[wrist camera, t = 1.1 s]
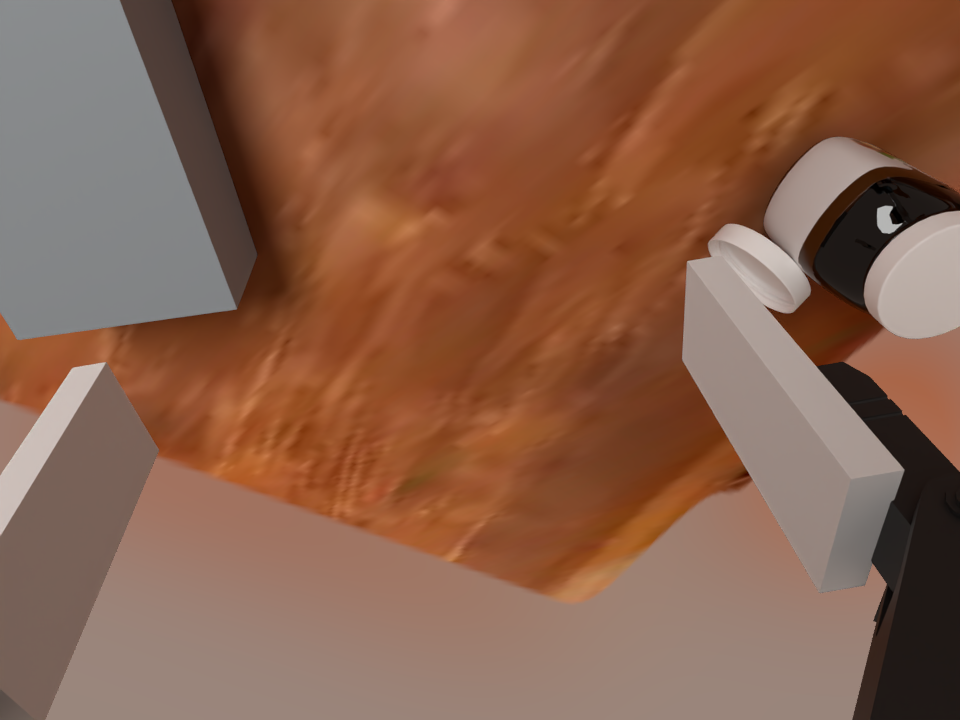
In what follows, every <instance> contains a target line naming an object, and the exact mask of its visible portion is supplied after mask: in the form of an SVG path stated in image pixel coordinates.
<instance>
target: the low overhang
mask: <svg viewBox="0 0 960 720" xmlns="http://www.w3.org/2000/svg"><path fill="white" fill-rule="evenodd" d="M256 258H257V252H256V249H255V246H254V243H253V240H252V237H251V234H250V231H249V228H248V225H247V222H246V219H245V217H244V214H243V211H242V208H241V205H240V202H239V199H238V196H237V193H236V190H235V187H234V184H233V181H232V178H231V175H230V172H229V169H228V166H227V163H226V160H225V157H224V155H223V152H222V149H221V146H220V143H219V140H218V137H217V134H216V131H215V128H214V125H213V122H212V119H211V116H210V113H209V110H208V107H207V104H206V101H205V98H204V95H203V93H202V90H201V87H200V84H199V81H198V78H197V75H196V72H195V69H194V66H193V63H192V60H191V57H190V54H189V51H188V48H187V45H186V42H185V39H184V36H183V33H182V30H181V28H180V25H179V22H178V19H177V16H176V13H175V10H174V7H173V4H172V1H171V0H0V313H1V314H2V316H3V317H4V319H5V321H6V322H7V324H8V325H9V327H10V328H11V330H12V332H13V333H14V335H15V336H16V338H17V340H22V339H29V338H36V337H43V336H50V335H57V334H64V333H72V332H79V331H86V330H93V329H100V328H107V327H114V326H122V325H129V324H136V323H143V322H150V321H157V320H164V319H171V318H179V317H186V316H193V315H200V314H207V313H214V312H221V311H229V310H236V309H237V308H238V305H239V303H240V300H241V298H242V295H243V292H244V290H245V287H246V284H247V282H248V279H249V276H250V274H251V271H252V269H253V266H254V263H255V261H256Z"/></svg>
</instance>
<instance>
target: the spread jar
mask: <svg viewBox="0 0 960 720" xmlns="http://www.w3.org/2000/svg"><path fill="white" fill-rule="evenodd" d="M764 229H765V231H766V233H767V235H768V236H769V237H770V239H771V240H772V241H773V242H774V243H775V244H774V243H773V242H772V241H770V240H769V239H767V238H766V237H764V236H763V235H761V234H759V233H757V232H756V231H754V230H752V229H749V228H747V227H745V226H741V225H738V224H726V225H725V226H723V227H722V228H721V229H720V230H719V231H718V232H717V233H716V234H715V235H714V237H713V238H712V239H711V240H710V241H709V243H708V250H709V253H710V255H711V257H715V256H722V257H723V258H724V259H725V260H726V262H727V263H728V264H729V265H730V266H731V267H732V269H733V270H734V271H735V272H736V273H737V274H738V276H739V277H740V278H741V279H742V280H743V281H744V283H745V284H746V285H747V286H748V287H749V289H750V290H751V291H752V292H753V293H754V294H755V296H756V297H757V298H758V299H759V300H760V301H761V303H762V304H763V305H765V306H767V307H769V308H771V309H773V310H775V311H778V312H782V313H793V312H794V311H795V310H796V309H797V308H798V307H799V306H800V305H801V304H802V303H803V302H804V301H805V300H806V299H807V298H808V297H809V296H810V293H811V288H810V284H809V282H808V279H807V277H806V276H805V274H804V273H803V272H805V273H806V274H807V275H808V276H809V277H811V278H812V279H813V280H814V281H815V282H817V283H818V284H819V285H820V286H822V287H823V288H825V289H826V290H827V291H829V292H830V293H831V294H833V295H834V296H836V297H837V298H839V299H840V300H842V301H843V302H845V303H847V304H849V305H850V306H852V307H854V308H856V309H858V310H860V311H862V312H864V313H867V314H869V315H872V316H873V317H874V318H875V319H876V320H877V321H878V322H879V323H880V324H881V325H883V326H884V327H885V328H886V329H887V330H888V331H890V332H891V333H893V334H894V335H897V336H899V337H903V338H908V339H921V338H930V337H934V336H937V335H941V334H944V333H947V332H949V331H951V330H954V329H956V328H958V327H959V326H960V194H959V193H958V192H956V191H955V190H954V189H952V188H951V187H949V186H948V185H946V184H945V183H943V182H941V181H939V180H937V179H935V178H933V177H931V176H929V175H927V174H925V173H923V172H922V171H920V170H918V169H916V168H914V167H913V166H911V165H909V164H907V163H906V162H904V161H902V160H900V159H899V158H897V157H895V156H893V155H892V154H890V153H888V152H886V151H884V150H882V149H880V148H878V147H876V146H873V145H871V144H869V143H866V142H863V141H860V140H856V139H852V138H847V137H831V138H827V139H824V140H822V141H820V142H818V143H816V144H815V145H813V146H812V147H811V148H810V149H808V150H807V151H806V152H805V153H804V154H803V155H802V156H801V157H800V158H799V159H798V160H797V161H796V162H795V163H794V164H793V165H792V166H791V167H790V169H789V170H788V171H787V172H786V174H785V175H784V176H783V178H782V179H781V181H780V182H779V184H778V185H777V187H776V189H775V191H774V192H773V194H772V196H771V198H770V201H769V203H768V205H767V208H766V211H765V216H764Z"/></svg>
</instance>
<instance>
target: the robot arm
mask: <svg viewBox="0 0 960 720" xmlns="http://www.w3.org/2000/svg"><path fill="white" fill-rule="evenodd" d="M682 360H683V362H684V364H685V366H686V367H687V369H688V371H689V372H690V374H691V376H692V377H693V379H694V381H695V383H696V384H697V386H698V388H699V389H700V391H701V393H702V395H703V396H704V398H705V400H706V401H707V403H708V405H709V406H710V408H711V410H712V412H713V413H714V415H715V417H716V418H717V420H718V422H719V423H720V425H721V427H722V429H723V430H724V432H725V434H726V435H727V437H728V439H729V440H730V442H731V444H732V446H733V447H734V449H735V451H736V452H737V454H738V456H739V457H740V459H741V461H742V463H743V464H744V466H745V468H746V469H747V471H748V473H749V474H750V476H751V478H752V480H753V481H754V483H755V485H756V486H757V488H758V490H759V491H760V493H761V495H762V497H763V498H764V500H765V502H766V503H767V505H768V507H769V508H770V510H771V512H772V514H773V515H774V517H775V519H776V520H777V522H778V524H779V526H780V527H781V528H782V531H783V532H784V534H785V536H786V537H787V539H788V541H789V542H790V544H791V546H792V548H793V549H794V551H795V553H796V554H797V556H798V558H799V560H800V561H801V563H802V564H803V566H804V568H805V570H806V571H807V573H808V575H809V577H810V578H811V580H812V581H813V583H814V585H815V587H816V588H817V590H818V592H819V593H824V592H829V591H836V590H841V589H847V588H853V587H859V586H864V585H865V583H866V581H867V578H868V575H869V572H870V569H871V566H872V563H873V564H874V566H875V567H876V569H877V570H878V571H879V573H880V574H881V576H882V577H883V579H884V580H885V581H886V583H887V586H886V589H885V591H884V594H883V597H882V599H881V602H880V605H879V607H878V610H877V613H876V615H875V618H874V621H875V622H876V626H875V630H874V634H873V638H872V643H871V646H870V651H869V655H868V659H867V663H866V667H865V671H864V675H863V679H862V683H861V688H860V691H859V695H858V699H857V704H856V707H855V711H854V716H853V720H960V472H959V471H958V470H957V469H956V468H955V467H954V466H953V464H952V463H950V461H949V460H948V459H947V458H946V457H945V456H944V455H943V454H942V453H941V452H940V451H939V450H938V449H937V448H936V446H935V445H934V444H933V443H932V442H931V441H930V440H929V439H928V438H927V437H926V436H925V435H924V434H923V433H922V432H921V431H920V429H918V427H916V425H915V424H914V423H913V422H912V421H911V420H910V419H909V418H908V417H907V416H906V415H903V414H902V410H901V409H900V408H899V407H898V406H897V405H896V404H895V403H894V402H893V401H892V400H891V399H890V400H888V398H887V395H886V393H885V392H884V391H883V390H882V389H881V388H880V387H879V386H878V385H877V384H876V383H875V382H874V381H873V380H872V379H871V378H870V377H869V376H868V375H866V374H864V373H862V372H860V371H859V370H856V369H855V368H853V367H851V366H850V365H848V364H846V363H844V362H839V363H833V364H827V365H821V366H815V365H814V363H813V362H812V361H811V360H810V359H809V358H808V356H807V355H806V354H805V353H804V352H803V350H802V349H801V348H800V347H799V346H798V345H797V343H796V342H795V341H794V340H793V339H792V338H791V336H790V335H789V334H788V333H787V332H786V331H785V329H784V328H783V327H782V326H781V325H780V324H779V322H778V321H777V320H776V319H775V318H774V317H773V315H772V314H771V313H770V312H769V311H768V310H767V308H766V307H765V306H764V305H763V304H762V303H761V301H760V300H759V299H758V298H757V297H756V296H755V294H754V293H753V292H752V291H751V290H750V289H749V287H748V286H747V285H746V284H745V283H744V281H743V280H742V279H741V278H740V277H739V276H738V274H737V273H736V272H735V271H734V270H733V269H732V267H731V266H730V265H729V264H728V263H727V262H726V260H725V259H724V258H723V257H722V256H715V257H709V258H703V259H698V260H692V261H687V274H686V294H685V313H684V333H683V353H682ZM158 452H159V449H158V448H157V446H156V444H155V443H154V441H153V439H152V438H151V436H150V434H149V433H148V431H147V429H146V428H145V426H144V424H143V423H142V421H141V419H140V418H139V416H138V414H137V413H136V411H135V409H134V408H133V406H132V404H131V403H130V401H129V399H128V398H127V396H126V394H125V393H124V391H123V389H122V388H121V386H120V384H119V383H118V381H117V379H116V377H115V376H114V374H113V372H112V371H111V369H110V367H109V366H108V364H107V362H104V363H98V364H93V365H87V366H81V367H75V368H72V370H71V371H70V373H69V374H68V376H67V377H66V379H65V380H64V381H63V383H62V384H61V386H60V387H59V389H58V390H57V392H56V393H55V395H54V396H53V398H52V399H51V401H50V402H49V404H48V405H47V407H46V408H45V410H44V411H43V413H42V414H41V416H40V417H39V419H38V420H37V422H36V423H35V425H34V426H33V428H32V429H31V431H30V432H29V434H28V435H27V437H26V438H25V440H24V441H23V443H22V444H21V446H20V447H19V449H18V450H17V452H16V453H15V455H14V456H13V458H12V459H11V461H10V462H9V463H8V465H7V466H6V468H5V469H4V471H3V473H2V474H1V475H0V720H45V719H46V717H47V714H48V712H49V710H50V707H51V705H52V702H53V700H54V698H55V695H56V693H57V691H58V688H59V686H60V683H61V681H62V679H63V677H64V674H65V672H66V669H67V667H68V665H69V662H70V660H71V658H72V655H73V653H74V650H75V648H76V646H77V643H78V641H79V639H80V636H81V634H82V632H83V629H84V627H85V624H86V622H87V620H88V617H89V615H90V612H91V610H92V608H93V606H94V603H95V601H96V598H97V596H98V594H99V591H100V589H101V587H102V584H103V582H104V579H105V577H106V575H107V572H108V570H109V568H110V565H111V563H112V560H113V558H114V556H115V553H116V551H117V549H118V546H119V544H120V542H121V539H122V537H123V535H124V532H125V530H126V527H127V525H128V522H129V520H130V518H131V516H132V513H133V511H134V508H135V506H136V504H137V501H138V499H139V497H140V494H141V492H142V490H143V487H144V485H145V482H146V480H147V478H148V475H149V473H150V470H151V468H152V466H153V463H154V461H155V459H156V456H157V454H158Z"/></svg>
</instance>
